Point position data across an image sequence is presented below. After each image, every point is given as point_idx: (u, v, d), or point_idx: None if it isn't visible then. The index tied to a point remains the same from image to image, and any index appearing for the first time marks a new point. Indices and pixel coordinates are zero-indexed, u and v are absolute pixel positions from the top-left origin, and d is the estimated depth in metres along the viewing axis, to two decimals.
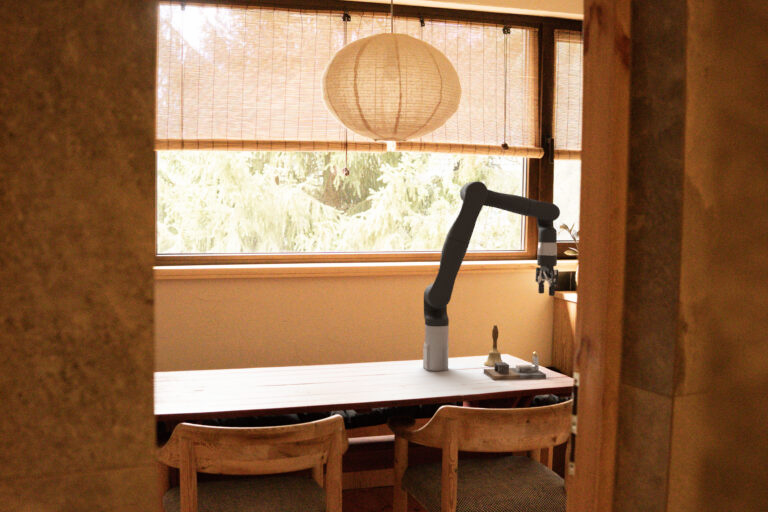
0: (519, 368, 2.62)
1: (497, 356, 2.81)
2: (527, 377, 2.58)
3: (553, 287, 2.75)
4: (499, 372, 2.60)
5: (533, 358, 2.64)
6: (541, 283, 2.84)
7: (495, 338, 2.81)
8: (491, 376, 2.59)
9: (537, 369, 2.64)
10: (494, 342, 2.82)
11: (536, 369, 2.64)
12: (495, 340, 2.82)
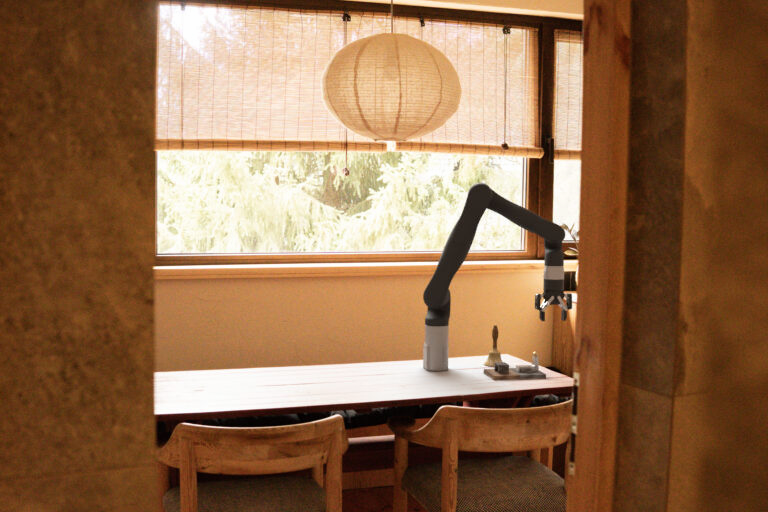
0: (519, 368, 2.62)
1: (497, 356, 2.81)
2: (527, 377, 2.58)
3: None
4: (499, 372, 2.60)
5: (533, 358, 2.64)
6: None
7: (495, 338, 2.81)
8: (491, 376, 2.59)
9: (537, 369, 2.64)
10: (494, 342, 2.82)
11: (536, 369, 2.64)
12: (495, 340, 2.82)
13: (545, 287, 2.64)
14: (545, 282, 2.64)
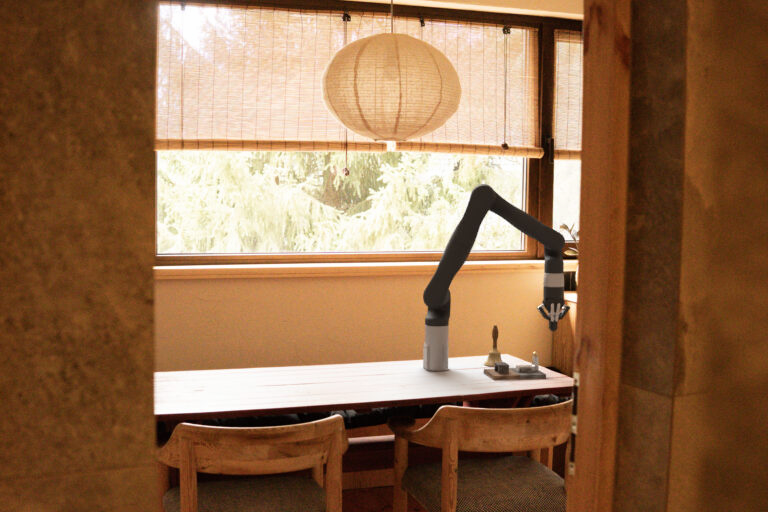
0: (519, 368, 2.62)
1: (497, 356, 2.81)
2: (527, 377, 2.58)
3: None
4: (499, 372, 2.60)
5: (533, 358, 2.64)
6: None
7: (495, 338, 2.81)
8: (491, 376, 2.59)
9: (537, 369, 2.64)
10: (494, 342, 2.82)
11: (536, 369, 2.64)
12: (495, 340, 2.82)
13: (545, 294, 2.63)
14: (545, 289, 2.63)
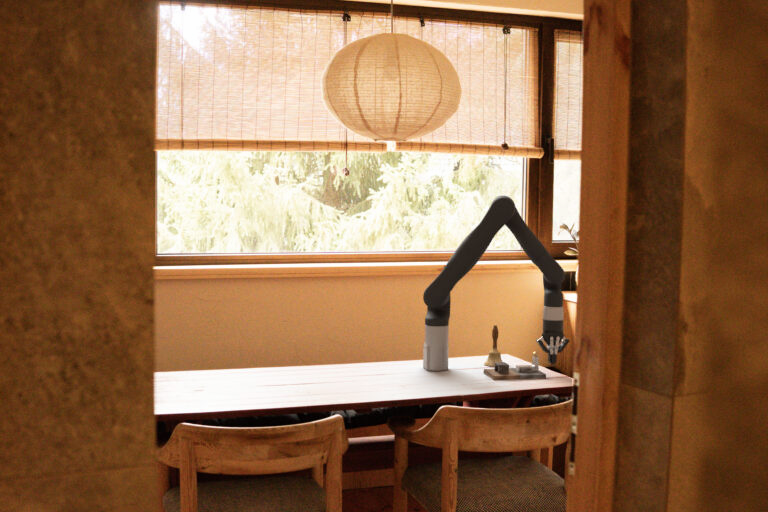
0: (519, 368, 2.62)
1: (497, 356, 2.81)
2: (527, 377, 2.58)
3: None
4: (499, 372, 2.60)
5: (533, 358, 2.64)
6: None
7: (495, 338, 2.81)
8: (491, 376, 2.59)
9: (537, 369, 2.64)
10: (494, 342, 2.82)
11: (536, 369, 2.64)
12: (495, 340, 2.82)
13: (544, 327, 2.64)
14: (544, 322, 2.64)
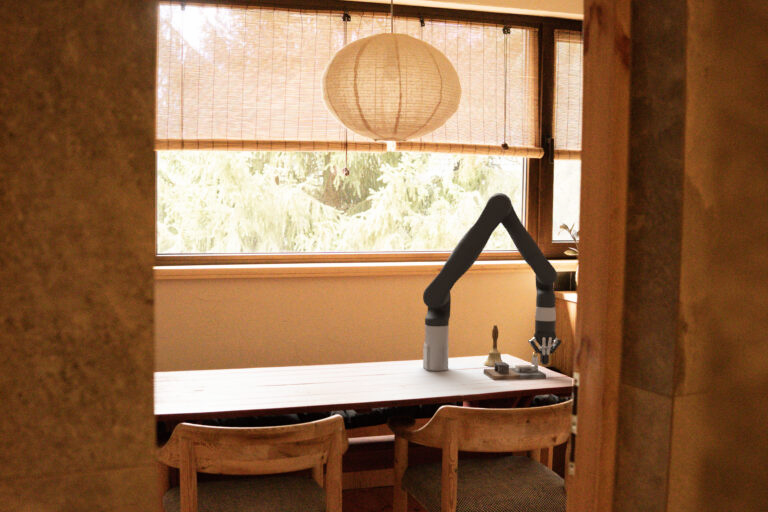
0: (519, 368, 2.62)
1: (497, 356, 2.81)
2: (527, 377, 2.58)
3: None
4: (499, 372, 2.60)
5: (533, 358, 2.64)
6: None
7: (495, 338, 2.81)
8: (491, 376, 2.59)
9: (537, 369, 2.64)
10: (494, 342, 2.82)
11: (536, 369, 2.64)
12: (495, 340, 2.82)
13: (536, 328, 2.63)
14: (536, 323, 2.63)
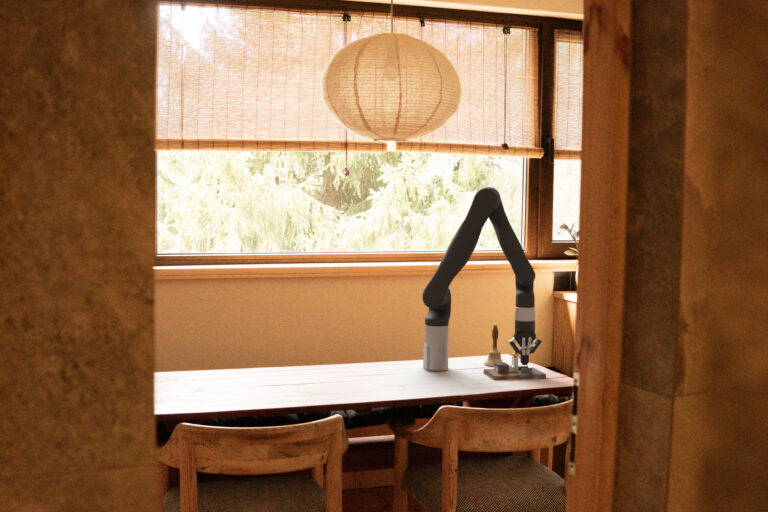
0: None
1: (497, 356, 2.81)
2: (527, 377, 2.58)
3: None
4: (499, 372, 2.60)
5: (513, 359, 2.63)
6: None
7: (495, 338, 2.81)
8: (491, 376, 2.59)
9: (517, 370, 2.62)
10: (494, 342, 2.82)
11: (516, 370, 2.62)
12: (495, 340, 2.82)
13: (516, 328, 2.62)
14: (516, 323, 2.62)
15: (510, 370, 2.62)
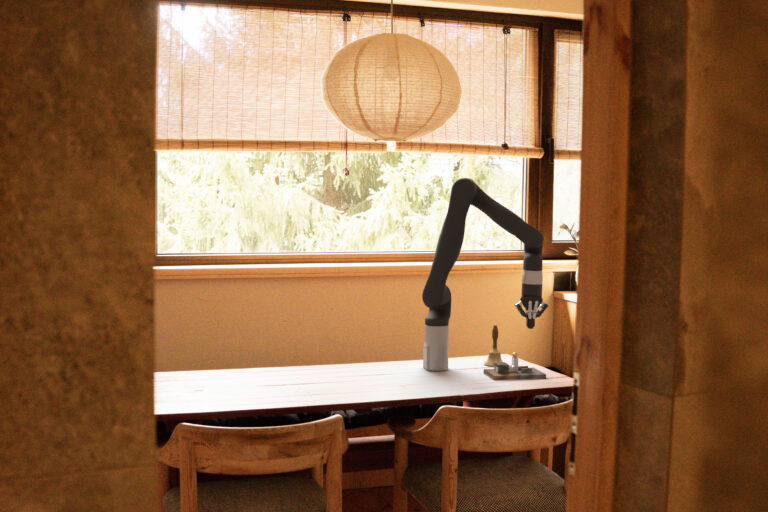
0: None
1: (497, 356, 2.81)
2: (527, 377, 2.58)
3: None
4: (499, 372, 2.60)
5: (513, 359, 2.63)
6: None
7: (495, 338, 2.81)
8: (491, 376, 2.59)
9: (517, 370, 2.62)
10: (494, 342, 2.82)
11: (516, 370, 2.62)
12: (495, 340, 2.82)
13: (523, 292, 2.61)
14: (523, 287, 2.61)
15: (510, 370, 2.62)
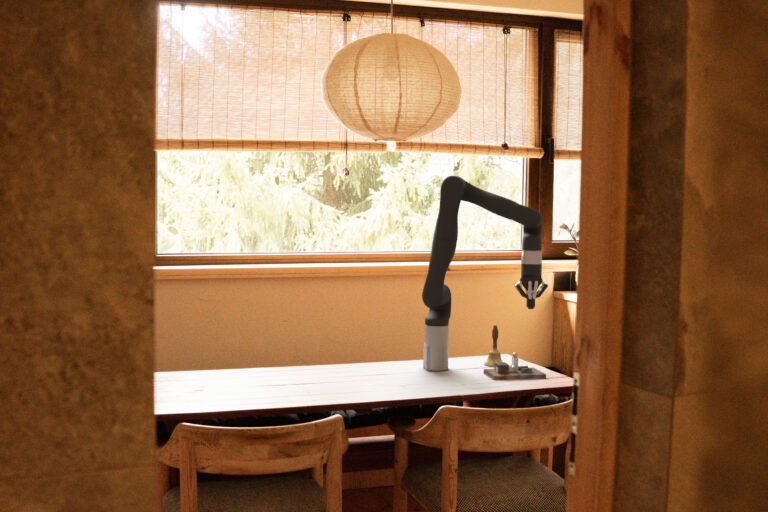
0: None
1: (497, 356, 2.81)
2: (527, 377, 2.58)
3: None
4: (499, 372, 2.60)
5: (513, 359, 2.63)
6: None
7: (495, 338, 2.81)
8: (491, 376, 2.59)
9: (517, 370, 2.62)
10: (494, 342, 2.82)
11: (516, 370, 2.62)
12: (495, 340, 2.82)
13: (522, 272, 2.61)
14: (522, 267, 2.61)
15: (510, 370, 2.62)
